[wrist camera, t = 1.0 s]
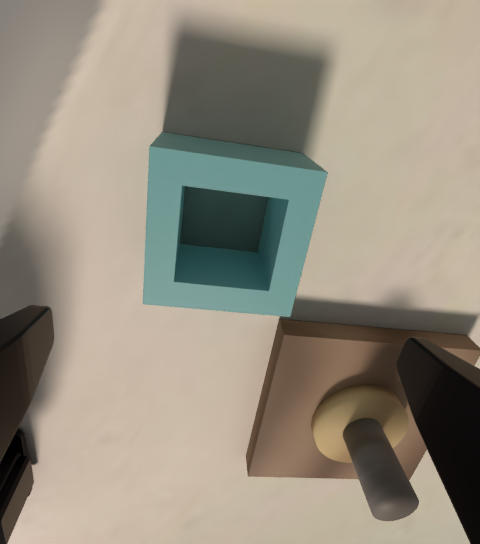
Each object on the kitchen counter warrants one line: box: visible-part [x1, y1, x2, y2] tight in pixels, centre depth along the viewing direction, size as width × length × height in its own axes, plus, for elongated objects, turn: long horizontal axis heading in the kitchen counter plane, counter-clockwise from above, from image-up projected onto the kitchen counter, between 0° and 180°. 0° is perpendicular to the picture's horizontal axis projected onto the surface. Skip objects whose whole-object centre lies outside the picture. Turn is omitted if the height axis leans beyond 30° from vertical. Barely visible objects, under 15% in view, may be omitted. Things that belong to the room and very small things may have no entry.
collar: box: [143, 132, 328, 317], centre depth 16 cm, size 6×6×4 cm
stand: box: [246, 319, 480, 521], centre depth 22 cm, size 12×12×7 cm
